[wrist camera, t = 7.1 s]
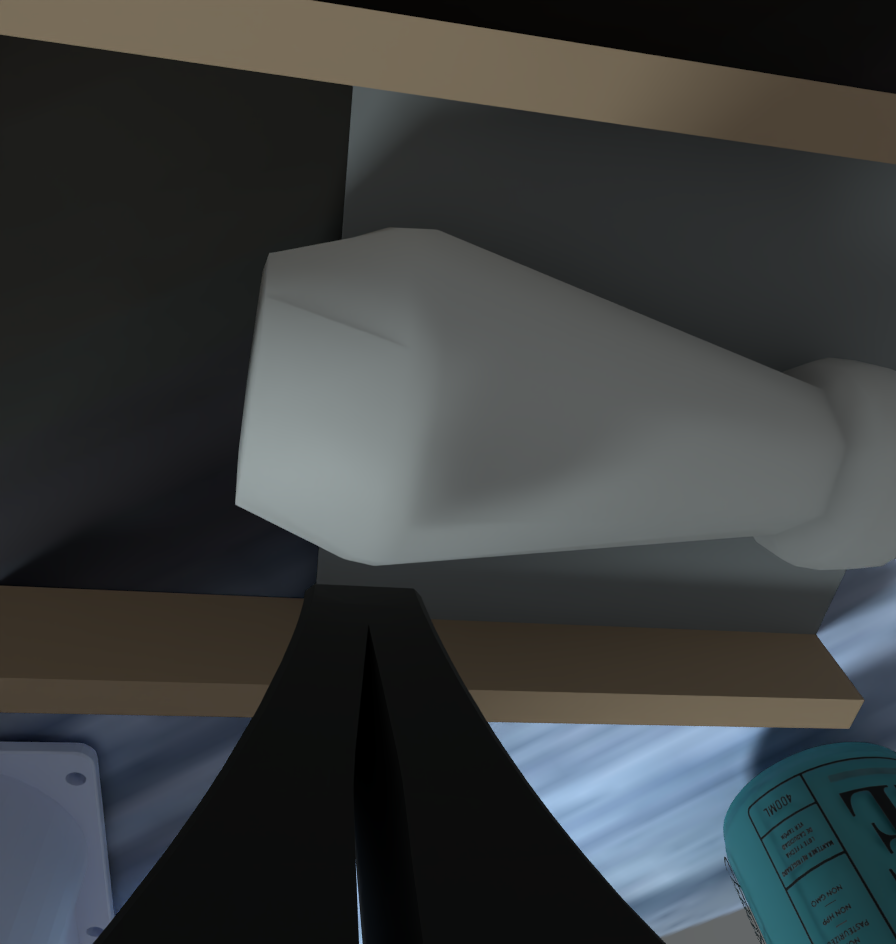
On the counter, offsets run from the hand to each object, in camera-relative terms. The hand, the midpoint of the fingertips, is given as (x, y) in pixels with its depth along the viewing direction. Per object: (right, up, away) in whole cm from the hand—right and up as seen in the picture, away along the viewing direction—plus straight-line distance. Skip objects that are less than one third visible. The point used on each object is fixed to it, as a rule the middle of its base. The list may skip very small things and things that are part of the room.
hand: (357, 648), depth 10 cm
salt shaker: (-2, +4, +3) cm, 5 cm away
